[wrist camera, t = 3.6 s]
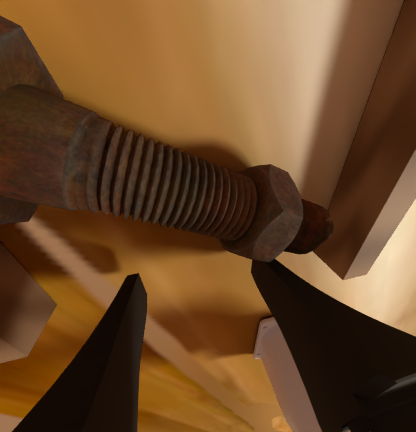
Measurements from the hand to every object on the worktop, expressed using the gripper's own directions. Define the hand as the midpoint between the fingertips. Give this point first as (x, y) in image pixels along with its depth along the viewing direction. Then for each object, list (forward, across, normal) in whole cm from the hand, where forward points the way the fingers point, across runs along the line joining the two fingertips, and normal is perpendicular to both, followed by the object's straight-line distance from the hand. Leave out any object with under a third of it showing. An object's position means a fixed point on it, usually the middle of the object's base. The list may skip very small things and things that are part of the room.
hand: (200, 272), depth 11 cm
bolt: (+2, 0, -5) cm, 6 cm away
